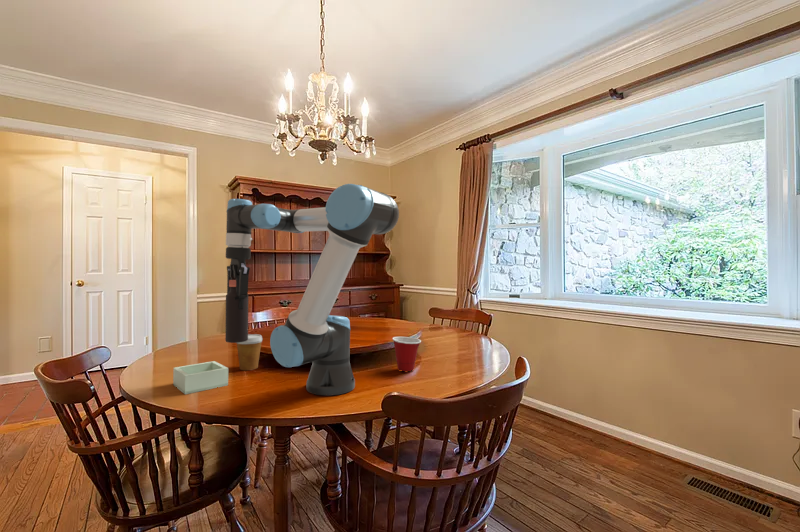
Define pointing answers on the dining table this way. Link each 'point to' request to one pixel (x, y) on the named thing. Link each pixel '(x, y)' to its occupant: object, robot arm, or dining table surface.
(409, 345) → the plastic cup
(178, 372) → the open rectangular box
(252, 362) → the disposable coffee cup
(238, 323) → the vinegar
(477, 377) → the dining table surface
